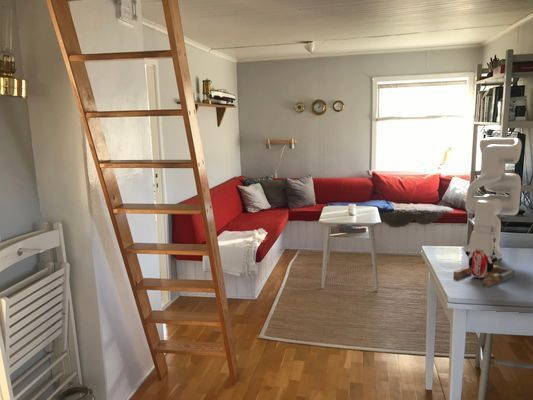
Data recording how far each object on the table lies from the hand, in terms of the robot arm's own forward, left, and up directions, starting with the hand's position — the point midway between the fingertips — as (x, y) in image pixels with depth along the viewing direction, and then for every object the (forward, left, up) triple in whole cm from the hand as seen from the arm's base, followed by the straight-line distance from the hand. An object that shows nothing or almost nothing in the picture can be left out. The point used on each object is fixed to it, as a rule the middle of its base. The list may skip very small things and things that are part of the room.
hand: (480, 269), depth 190 cm
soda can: (0, 0, -3) cm, 3 cm away
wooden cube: (-9, +1, -4) cm, 10 cm away
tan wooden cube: (-5, 0, -4) cm, 7 cm away
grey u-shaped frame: (-9, 0, -4) cm, 10 cm away
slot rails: (+3, 0, -4) cm, 5 cm away
